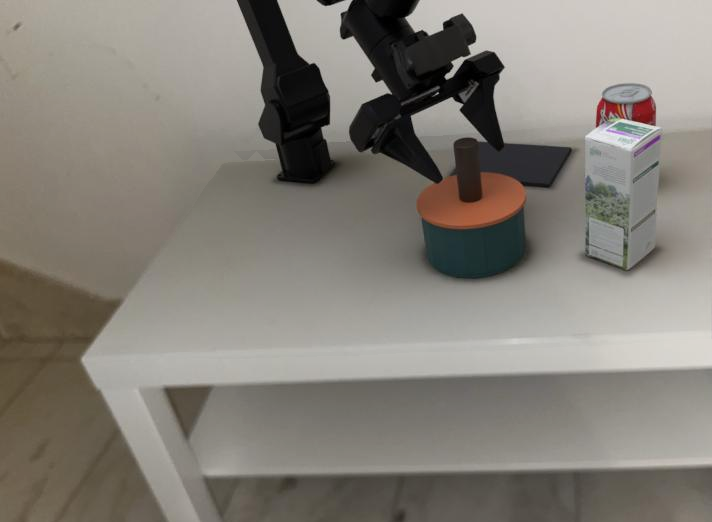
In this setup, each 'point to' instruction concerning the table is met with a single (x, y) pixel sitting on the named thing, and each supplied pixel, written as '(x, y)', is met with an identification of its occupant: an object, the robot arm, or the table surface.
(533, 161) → the mat
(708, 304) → the table surface
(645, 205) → the syrup box
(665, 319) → the table surface
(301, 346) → the table surface
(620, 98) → the soda can
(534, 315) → the table surface
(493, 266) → the round pot
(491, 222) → the lid
